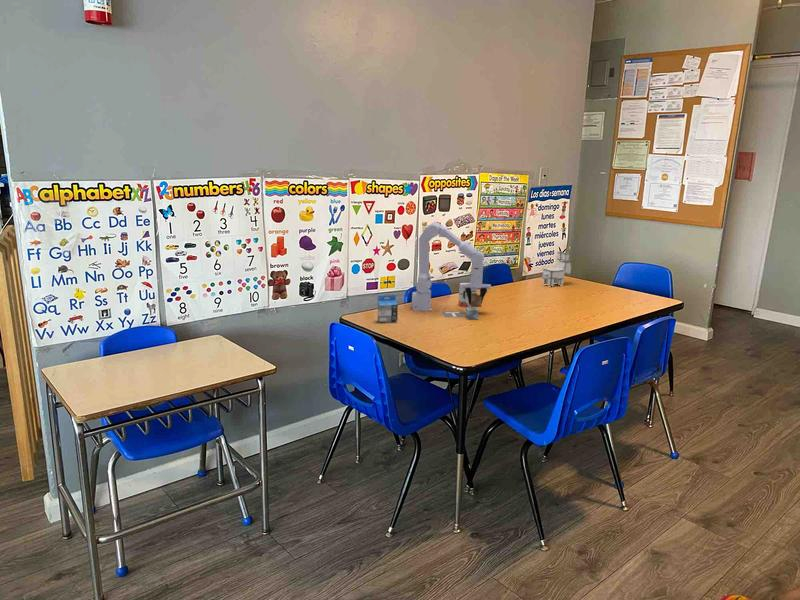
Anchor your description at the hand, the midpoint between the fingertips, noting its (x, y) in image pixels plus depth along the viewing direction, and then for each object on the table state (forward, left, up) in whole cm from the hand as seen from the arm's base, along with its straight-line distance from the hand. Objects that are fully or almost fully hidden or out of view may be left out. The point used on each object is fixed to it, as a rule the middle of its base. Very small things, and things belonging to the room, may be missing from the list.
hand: (475, 303), depth 294 cm
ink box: (-1, +15, -6) cm, 16 cm away
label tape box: (-45, -13, -6) cm, 47 cm away
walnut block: (0, 0, -1) cm, 1 cm away
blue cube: (-4, -9, -6) cm, 11 cm away
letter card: (-11, -2, -5) cm, 12 cm away
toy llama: (+64, +63, -6) cm, 90 cm away
